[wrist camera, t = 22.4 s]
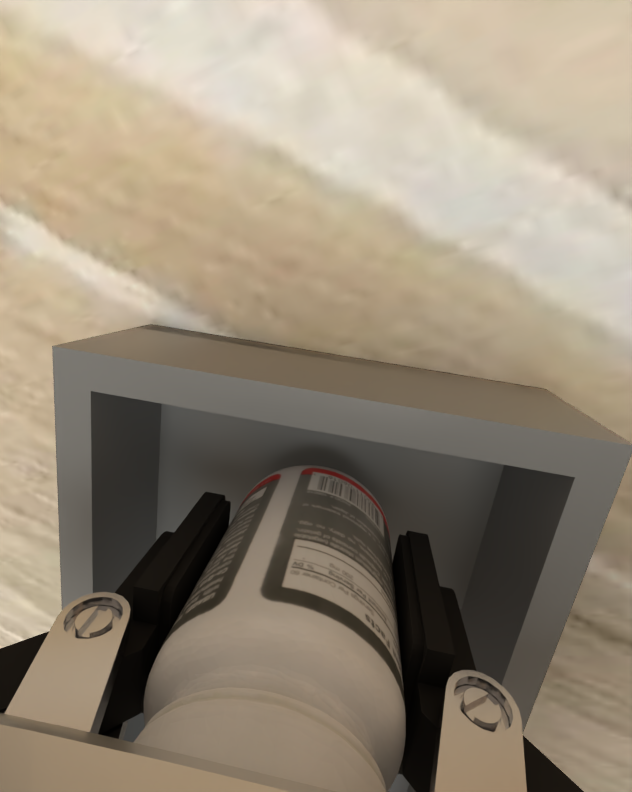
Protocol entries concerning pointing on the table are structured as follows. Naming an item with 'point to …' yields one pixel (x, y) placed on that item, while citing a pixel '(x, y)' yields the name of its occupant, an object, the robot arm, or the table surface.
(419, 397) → the tote
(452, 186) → the table surface
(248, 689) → the pill bottle
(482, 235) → the table surface
